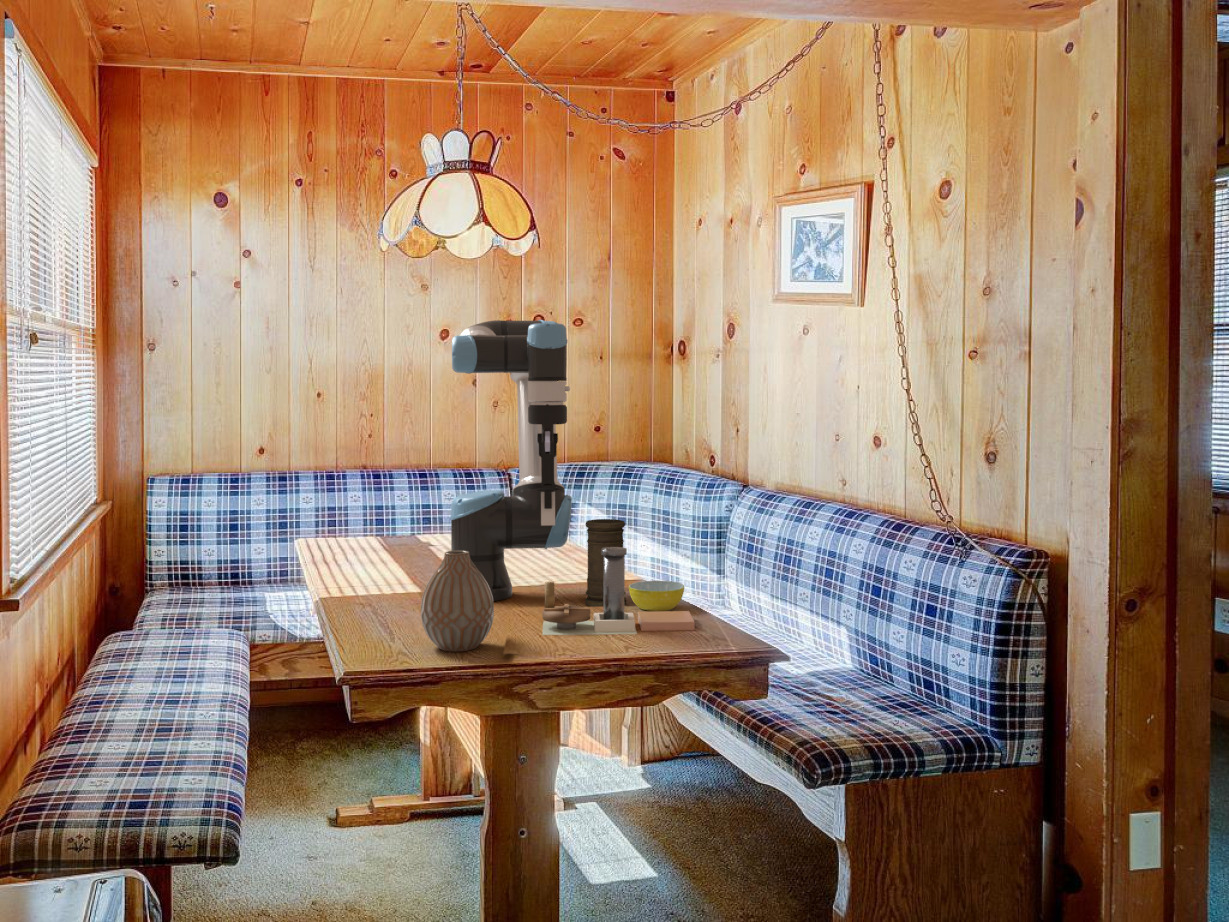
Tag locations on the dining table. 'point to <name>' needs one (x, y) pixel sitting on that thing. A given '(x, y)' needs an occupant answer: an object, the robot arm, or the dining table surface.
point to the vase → (457, 604)
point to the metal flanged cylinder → (614, 582)
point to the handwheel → (562, 609)
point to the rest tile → (666, 620)
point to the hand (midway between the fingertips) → (548, 524)
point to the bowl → (656, 595)
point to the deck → (592, 626)
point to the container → (600, 555)
